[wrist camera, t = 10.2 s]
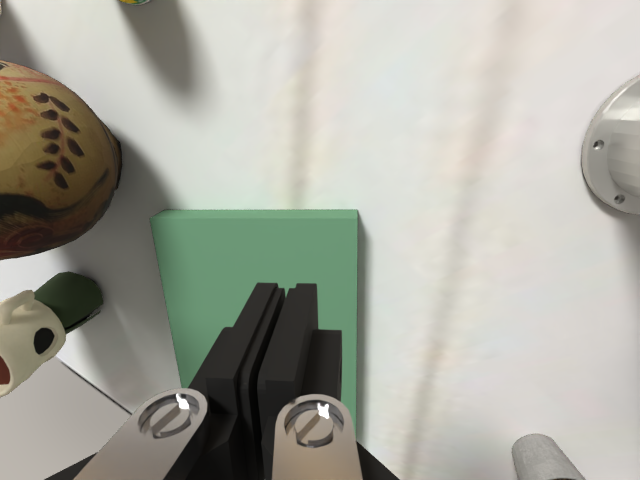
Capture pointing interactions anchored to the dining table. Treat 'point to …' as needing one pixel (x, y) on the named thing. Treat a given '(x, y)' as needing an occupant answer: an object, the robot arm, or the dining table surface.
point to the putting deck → (255, 274)
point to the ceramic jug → (50, 163)
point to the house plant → (542, 460)
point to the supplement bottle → (135, 2)
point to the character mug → (42, 324)
